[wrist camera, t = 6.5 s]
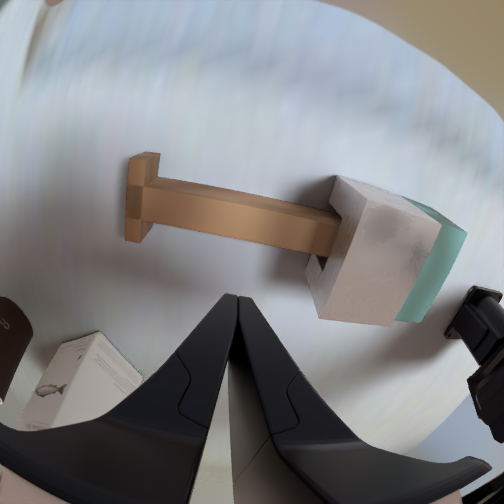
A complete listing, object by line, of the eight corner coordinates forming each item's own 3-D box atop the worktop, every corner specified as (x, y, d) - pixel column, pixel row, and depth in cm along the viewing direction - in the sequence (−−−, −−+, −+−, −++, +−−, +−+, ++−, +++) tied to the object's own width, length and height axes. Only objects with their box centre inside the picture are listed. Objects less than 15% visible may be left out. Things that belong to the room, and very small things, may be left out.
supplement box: (99, 328, 23) (45, 440, 11) (145, 376, 26) (115, 482, 15) (60, 341, 24) (12, 430, 13) (101, 383, 27) (70, 470, 16)
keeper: (401, 196, 17) (441, 225, 12) (365, 282, 20) (390, 326, 15) (337, 175, 16) (367, 199, 12) (304, 271, 19) (318, 318, 15)
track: (431, 207, 17) (467, 233, 13) (396, 287, 20) (420, 322, 16) (147, 136, 15) (115, 144, 11) (138, 237, 18) (112, 271, 14)
